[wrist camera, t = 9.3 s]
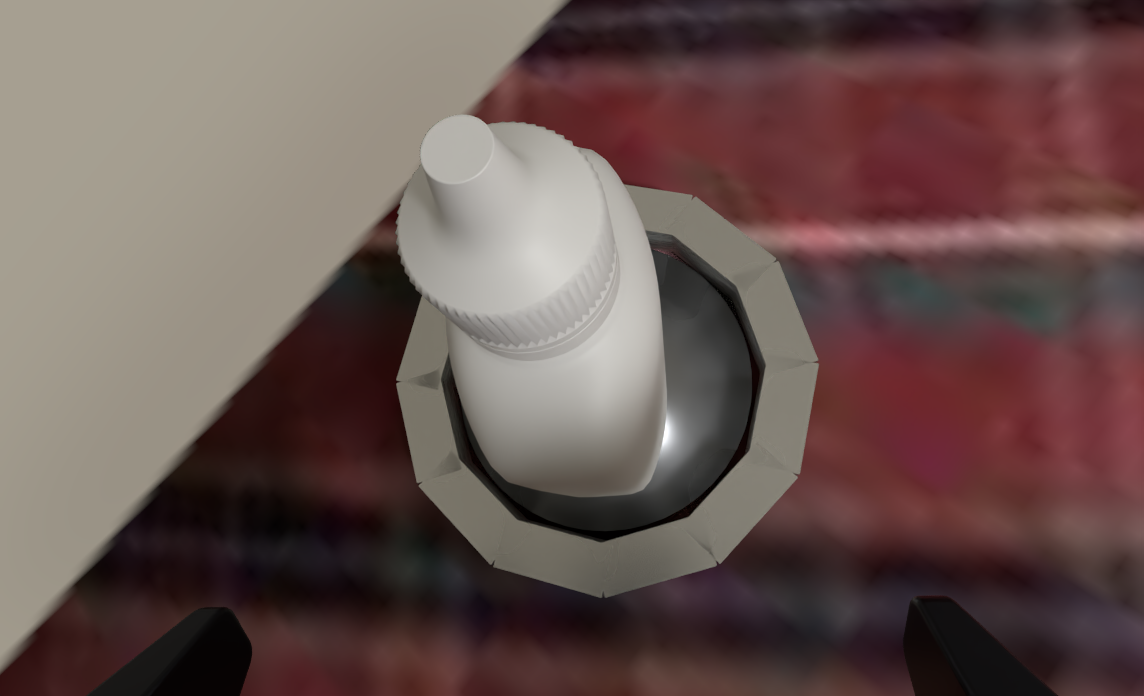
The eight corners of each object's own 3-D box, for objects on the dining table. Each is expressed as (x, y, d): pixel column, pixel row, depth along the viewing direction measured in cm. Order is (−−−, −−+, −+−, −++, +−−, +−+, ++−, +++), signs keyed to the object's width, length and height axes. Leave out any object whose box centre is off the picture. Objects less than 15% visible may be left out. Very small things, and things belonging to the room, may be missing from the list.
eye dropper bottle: (482, 450, 18) (112, 331, 6) (573, 267, 18) (401, -144, 7) (632, 524, 16) (530, 553, 5) (720, 326, 17) (811, -40, 6)
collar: (762, 636, 16) (769, 646, 15) (372, 524, 18) (351, 525, 17) (833, 237, 18) (844, 218, 17) (476, 180, 20) (463, 159, 19)
